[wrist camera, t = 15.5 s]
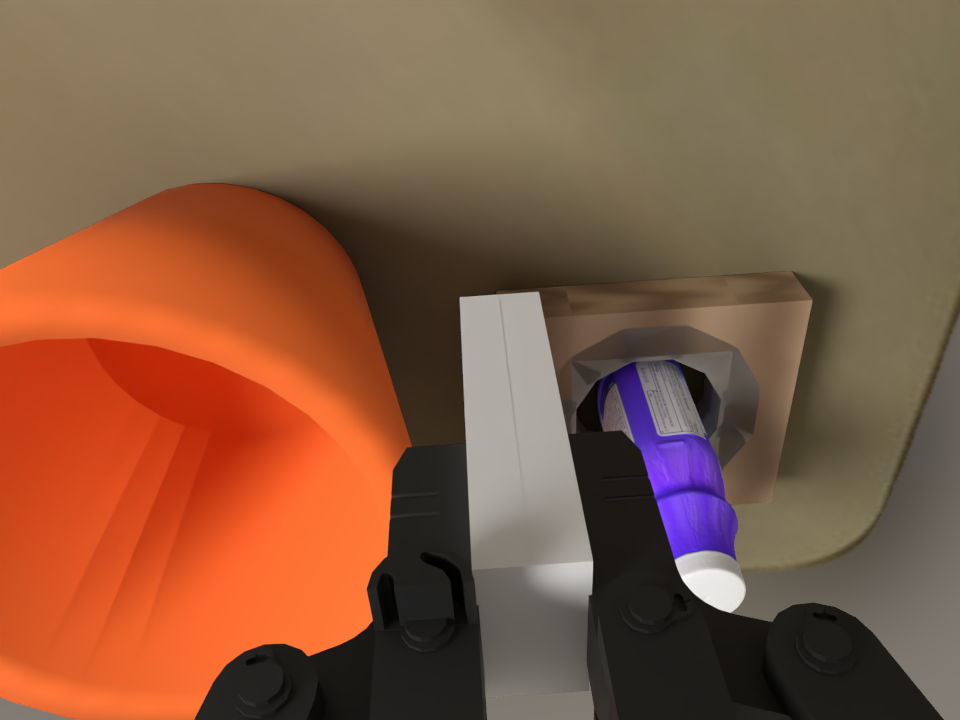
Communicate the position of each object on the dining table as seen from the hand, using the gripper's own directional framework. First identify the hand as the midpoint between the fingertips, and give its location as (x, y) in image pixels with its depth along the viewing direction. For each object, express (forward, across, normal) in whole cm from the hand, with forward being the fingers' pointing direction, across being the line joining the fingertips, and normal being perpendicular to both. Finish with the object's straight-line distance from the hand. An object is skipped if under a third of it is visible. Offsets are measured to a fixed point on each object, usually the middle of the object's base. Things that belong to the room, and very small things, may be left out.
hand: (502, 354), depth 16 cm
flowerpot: (+30, -15, -16) cm, 37 cm away
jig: (+30, +10, -24) cm, 40 cm away
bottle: (+30, +10, -24) cm, 40 cm away
